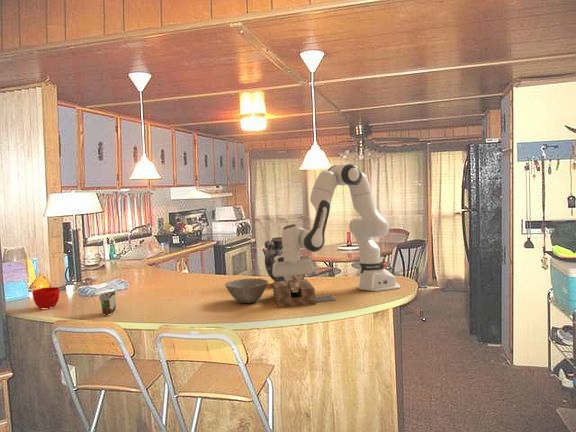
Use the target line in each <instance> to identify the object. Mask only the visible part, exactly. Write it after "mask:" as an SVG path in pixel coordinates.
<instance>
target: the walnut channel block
mask: <svg viewBox="0 0 576 432" xmlns="http://www.w3.org/2000/svg"><path fill="white" fill-rule="evenodd" d="M295 281H297V280H290V281H289V282H295ZM272 292H273V298H274V301H275V302H276V305H277V307H278V308H280V309H281V308H289V307H290V308H291V307H301V306H302V307H303V306H312V305H316V302H315V296H316V293H315V292H316V289H315V287H314V286H313V285H312V284H311V283H310V281H309V280H308V279H306V278H304V279H302V280H300V284H299V290H298V293H294V294H291V290H290V289H289V287H288V285H287V284H286V281H278V282H275V281H272Z"/></svg>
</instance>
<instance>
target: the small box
mask: <svg viewBox="0 0 576 432" xmlns="http://www.w3.org/2000/svg"><path fill="white" fill-rule="evenodd" d="M286 279H287V281H290V280H298V279H299V275H292V276H287V278H286ZM302 279H305V274H304V275H302V278H301V280H302Z"/></svg>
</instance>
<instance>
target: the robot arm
mask: <svg viewBox="0 0 576 432" xmlns="http://www.w3.org/2000/svg"><path fill="white" fill-rule="evenodd" d="M337 186H347V187H348V188H349V193H350V196H351V201H352V205H353V209H354V211H355V212H356V213H358V214H359V215H360V216H357V217H354V218H352V219H351V220H350V221H349V224H348V226H349V227H348V229H349V232H350V233H351V234H352V235H353V237H354V238H355V240H356V244H357V245H358V246H357V247H358V250H359V252H358V253H359V263H358V265H359V266H358V268H359V274H360V275H359V283H358V286H357V288H358V289H359V290H362V291H369V292H370V291H371V292H382V291H389V290H396V289H400V288H401V285H400V284H399V283H398V282H397V280H396V277H395V275H394V274H393V273H391V272H390V271H389V270H387V269H386V267H387V266H388V264H387V263H386V262H383V261H381V248H380V246H379V245H378V244H377V243H376V242H375V239H377V238H382V237H386V236H387V235H388V233H389V231H390V223H389V222H388V220H387V219H385V218H384V217H383V216H382V215H381V213H380V212H379V210H378V208H377V206H376V204H375V201H374V197H373V192H372V189H371V185H370V182H369V179H368V177H367V175H366V174H365V173H363V172H361V170H360V168H359V167H358V166H357V165H355V164H354V163H353V164H351V163H341V164H335V165H332V166H330V167H329V168H328V169H327V170H322V171H320V172H319V173H318V176H317V178H316V179H315V181H314V185H313V186H312V189H311V193H310V197H309V198H310V200H309V201H310V203H311V205H312V207H314V209H315V215H314V219H313V224H312V227H311V228H310V229H306V228H303V227H300V226H299V225H298V224H295V223H294V224H287V225H286V226H283V228H282V230H281V237H282V245H283V254H281V255H278V256H276V257H274V261H275V262H274V263H273V276H274V277H281V276H284V279H285V280H286V284H287V285H290V282H289V281H287V279H286V278H287V276H292V275H299V279H298V280H297V281H299V284H300V280H301V278H302V275H304V276H305V275H312V274H313V265H312V264H313V258H312V256H311V255H310V256H309V255H301V249H305V250H308V251H310V252H315V253H316V252H318V251H320V250H321V249H323V247H324V245H325V231H326V228H327V223H328V220H329V214H330V209H331V204H332V199H333V196H334V194H335V190H336V188H337ZM374 238H375V239H374Z"/></svg>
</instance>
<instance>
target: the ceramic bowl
mask: <svg viewBox="0 0 576 432" xmlns="http://www.w3.org/2000/svg"><path fill="white" fill-rule="evenodd" d="M268 283H269V281H268V280H267V279H262V278H255V277H254V278H242V279H234V280H231V281H228V282H225V284H224V285H225V288H226V289H227V291H228V292H229V294H230V295H231V296H232V298H233V299H234V300H235V301H237V302H238V303H242V304H254V303H257V302H258V301H259V300H260V299H261V297H262V296H263V294H264V292H265V290H266V287H267V285H268Z"/></svg>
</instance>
